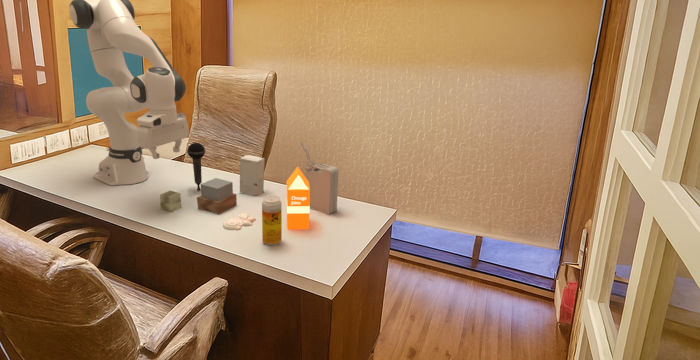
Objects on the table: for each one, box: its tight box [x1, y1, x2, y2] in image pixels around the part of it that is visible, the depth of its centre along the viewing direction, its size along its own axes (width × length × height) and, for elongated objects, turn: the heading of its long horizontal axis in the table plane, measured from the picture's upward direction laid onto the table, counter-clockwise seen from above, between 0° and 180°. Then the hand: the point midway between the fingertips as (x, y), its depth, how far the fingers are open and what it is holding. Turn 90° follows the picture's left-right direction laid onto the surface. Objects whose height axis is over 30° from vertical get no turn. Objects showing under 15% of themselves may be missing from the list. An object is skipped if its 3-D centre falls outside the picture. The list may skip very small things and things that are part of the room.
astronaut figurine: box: [222, 212, 257, 231], centre depth 165 cm, size 9×12×3 cm
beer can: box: [261, 195, 283, 247], centre depth 151 cm, size 6×6×15 cm
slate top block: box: [200, 177, 234, 201], centre depth 175 cm, size 8×8×5 cm
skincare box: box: [239, 154, 265, 197], centre depth 191 cm, size 8×6×15 cm
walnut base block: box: [196, 192, 238, 216], centre depth 177 cm, size 10×10×5 cm
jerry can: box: [300, 141, 339, 215], centre depth 178 cm, size 15×5×25 cm, turn 54°
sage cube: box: [159, 190, 182, 213], centre depth 173 cm, size 5×5×6 cm
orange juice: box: [286, 166, 311, 230], centre depth 164 cm, size 8×9×20 cm
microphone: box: [186, 142, 206, 192], centre depth 189 cm, size 7×7×20 cm
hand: (166, 155), depth 167 cm, fingers open, 8 cm apart
